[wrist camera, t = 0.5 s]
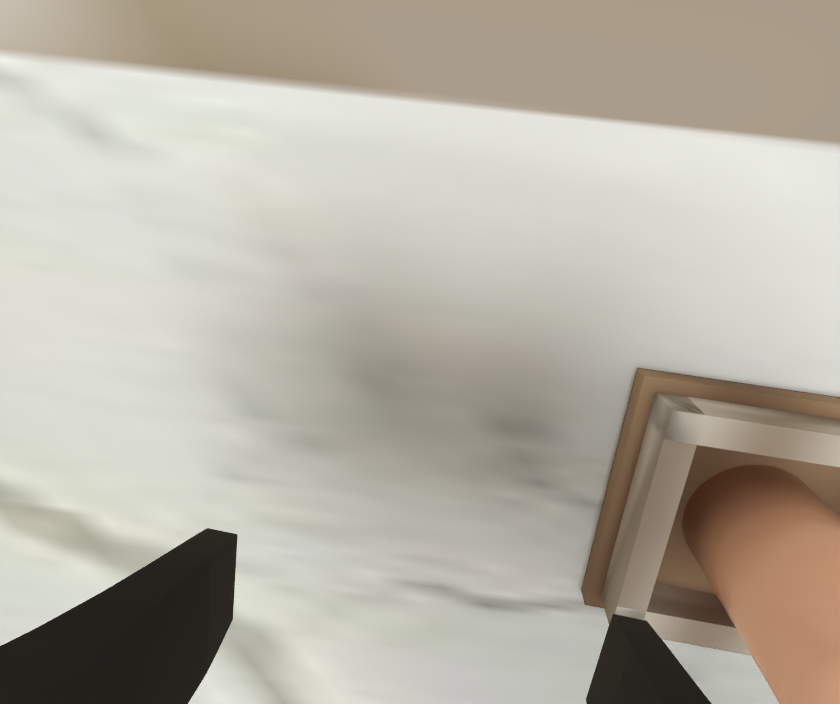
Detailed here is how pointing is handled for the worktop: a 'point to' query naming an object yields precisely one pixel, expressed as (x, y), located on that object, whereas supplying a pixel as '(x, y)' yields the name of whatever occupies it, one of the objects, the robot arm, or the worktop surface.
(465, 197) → the worktop surface
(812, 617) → the tube
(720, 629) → the tray
